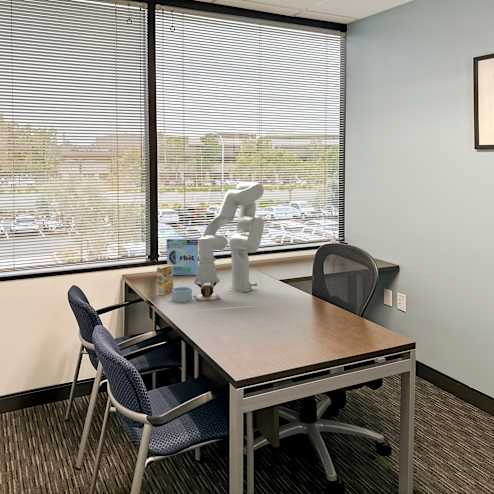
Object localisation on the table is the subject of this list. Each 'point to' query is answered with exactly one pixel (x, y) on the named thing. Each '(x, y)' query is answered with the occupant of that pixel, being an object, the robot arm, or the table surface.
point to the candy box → (165, 279)
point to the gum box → (183, 256)
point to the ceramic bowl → (181, 294)
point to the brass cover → (207, 294)
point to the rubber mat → (203, 301)
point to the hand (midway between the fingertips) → (207, 294)
